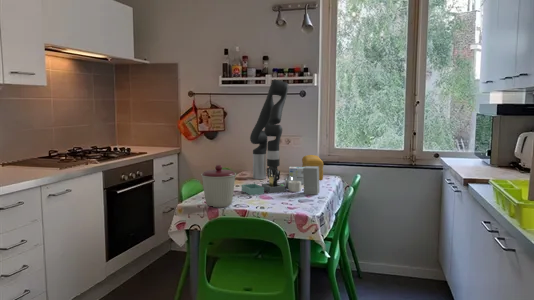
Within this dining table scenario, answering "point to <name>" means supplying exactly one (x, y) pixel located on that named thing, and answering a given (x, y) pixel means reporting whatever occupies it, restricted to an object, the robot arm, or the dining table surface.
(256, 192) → the trough
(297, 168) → the light bulb box
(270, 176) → the brass cell
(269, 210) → the dining table surface
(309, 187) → the skincare box
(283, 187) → the block
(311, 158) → the bread
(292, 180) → the grey cell
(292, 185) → the white cup
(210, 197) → the canister
